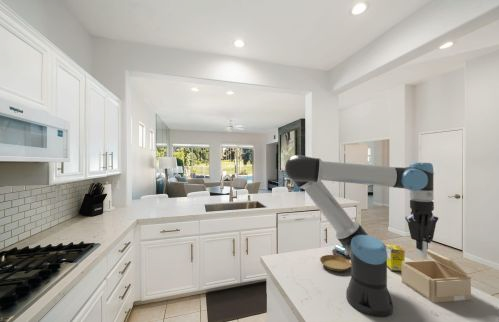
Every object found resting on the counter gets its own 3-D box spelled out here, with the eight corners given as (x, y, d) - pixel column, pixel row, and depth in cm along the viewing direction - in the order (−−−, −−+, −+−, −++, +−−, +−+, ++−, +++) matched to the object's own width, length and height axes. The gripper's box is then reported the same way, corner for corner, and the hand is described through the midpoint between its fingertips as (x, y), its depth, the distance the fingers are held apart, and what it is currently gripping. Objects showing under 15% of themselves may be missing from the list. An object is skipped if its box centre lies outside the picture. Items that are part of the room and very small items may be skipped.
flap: (449, 261, 78) (451, 259, 78) (420, 248, 90) (422, 246, 90) (466, 275, 79) (467, 273, 79) (435, 260, 91) (436, 258, 91)
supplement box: (405, 272, 98) (404, 250, 98) (391, 271, 99) (391, 249, 99) (398, 266, 104) (398, 245, 104) (385, 265, 105) (385, 244, 105)
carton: (433, 305, 76) (433, 281, 76) (398, 281, 91) (398, 261, 91) (473, 302, 77) (473, 278, 77) (432, 278, 93) (432, 259, 93)
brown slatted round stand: (359, 255, 116) (359, 241, 116) (343, 259, 112) (343, 245, 112) (342, 247, 127) (342, 234, 127) (327, 250, 123) (327, 237, 123)
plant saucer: (329, 275, 96) (329, 269, 96) (315, 260, 111) (315, 255, 111) (357, 273, 98) (357, 267, 98) (340, 258, 113) (340, 253, 113)
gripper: (415, 202, 79) (415, 262, 79) (445, 201, 81) (446, 260, 81) (399, 198, 87) (399, 253, 87) (427, 197, 88) (427, 252, 88)
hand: (422, 257), depth 84 cm, fingers closed
